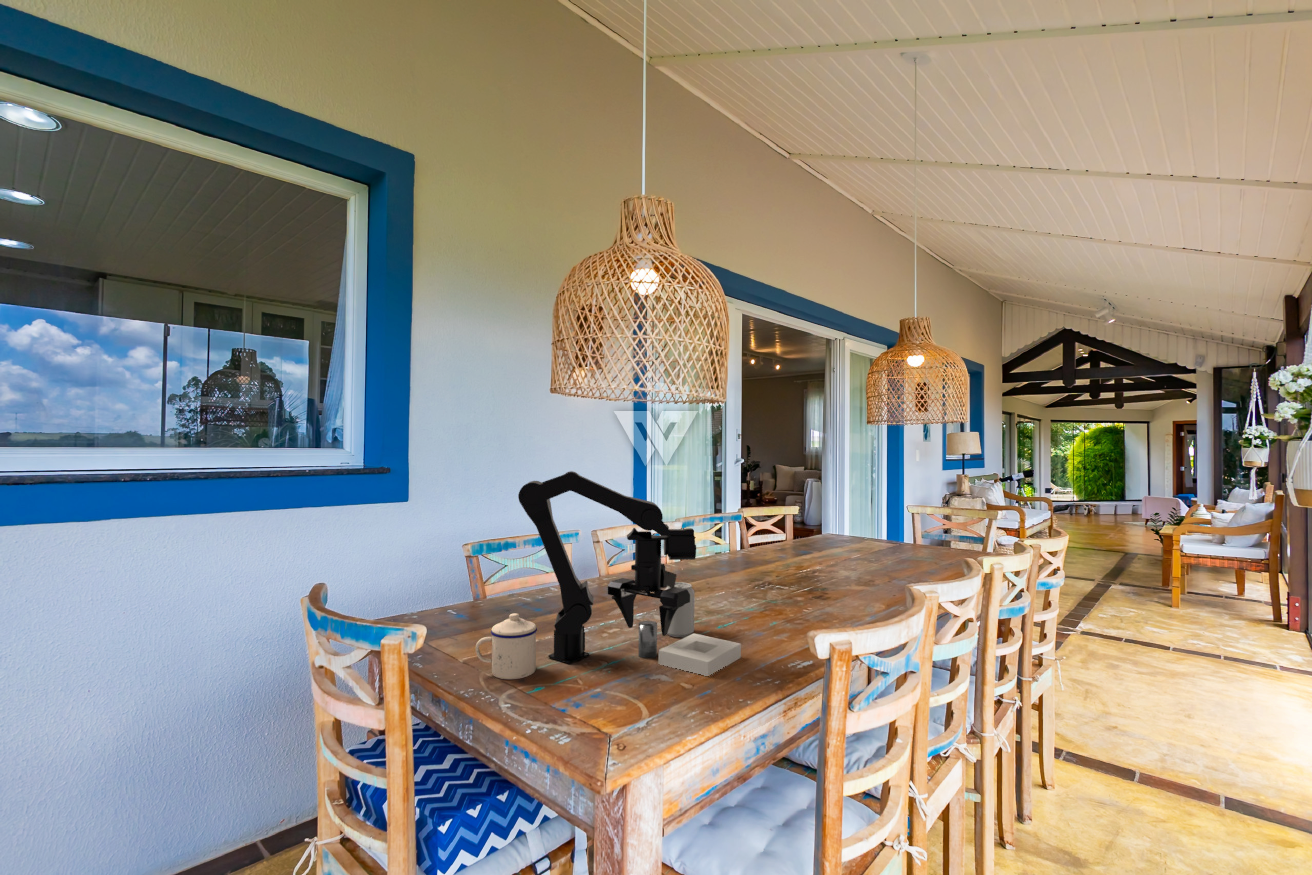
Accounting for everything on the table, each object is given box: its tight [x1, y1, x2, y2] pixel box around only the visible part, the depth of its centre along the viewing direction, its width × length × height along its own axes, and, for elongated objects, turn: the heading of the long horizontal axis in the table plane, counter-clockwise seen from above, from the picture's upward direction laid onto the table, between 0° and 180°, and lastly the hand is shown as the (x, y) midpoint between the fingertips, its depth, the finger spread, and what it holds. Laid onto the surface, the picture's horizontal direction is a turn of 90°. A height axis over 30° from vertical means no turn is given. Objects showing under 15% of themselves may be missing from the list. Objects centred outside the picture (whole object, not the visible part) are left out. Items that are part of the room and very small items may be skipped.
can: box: [664, 581, 696, 638], centre depth 152 cm, size 8×8×12 cm
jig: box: [658, 633, 742, 677], centre depth 134 cm, size 14×12×3 cm
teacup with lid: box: [475, 612, 538, 680], centre depth 126 cm, size 12×9×12 cm
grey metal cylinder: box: [638, 620, 658, 660], centre depth 137 cm, size 4×4×7 cm
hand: (647, 631), depth 137 cm, fingers open, 9 cm apart
